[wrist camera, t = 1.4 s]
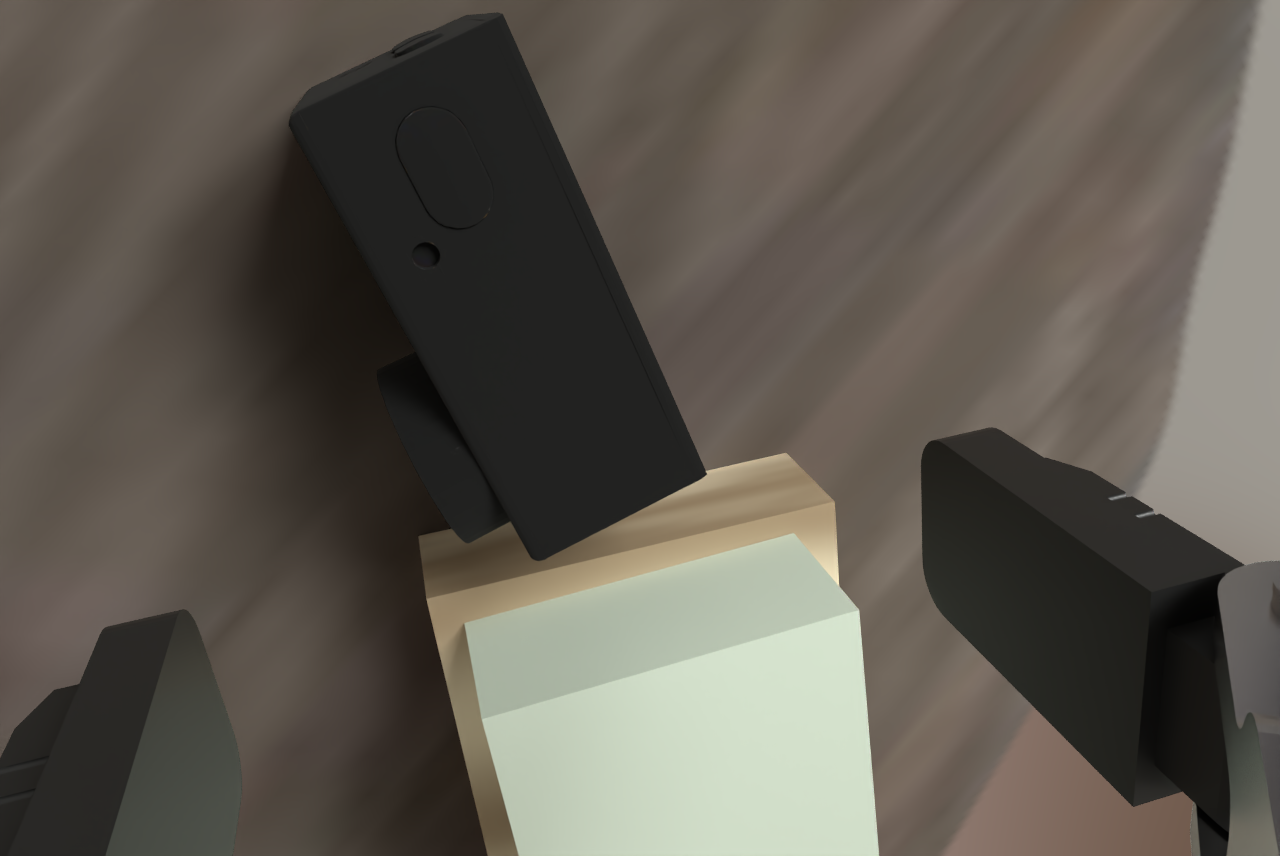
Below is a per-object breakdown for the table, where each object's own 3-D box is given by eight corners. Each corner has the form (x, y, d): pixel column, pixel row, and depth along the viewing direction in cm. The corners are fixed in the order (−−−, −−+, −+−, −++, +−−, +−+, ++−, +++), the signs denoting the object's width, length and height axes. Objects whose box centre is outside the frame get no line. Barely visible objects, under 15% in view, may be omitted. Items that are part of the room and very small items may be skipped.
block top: (464, 622, 26) (482, 719, 23) (793, 532, 28) (858, 609, 24) (552, 952, 31) (578, 1074, 28) (828, 860, 33) (887, 964, 29)
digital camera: (253, 108, 24) (216, 141, 18) (463, 10, 24) (500, 7, 18) (457, 466, 29) (486, 593, 22) (632, 378, 29) (709, 478, 23)
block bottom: (417, 527, 29) (426, 599, 26) (779, 446, 31) (834, 501, 28) (497, 867, 35) (514, 966, 31) (804, 778, 37) (853, 861, 33)
